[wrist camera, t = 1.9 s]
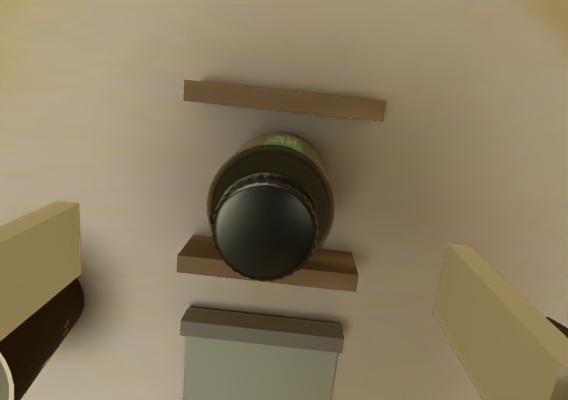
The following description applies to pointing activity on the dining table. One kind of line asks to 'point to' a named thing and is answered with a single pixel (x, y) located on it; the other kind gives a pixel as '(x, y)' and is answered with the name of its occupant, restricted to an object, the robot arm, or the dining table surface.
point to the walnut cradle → (324, 263)
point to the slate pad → (258, 356)
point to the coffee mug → (37, 341)
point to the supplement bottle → (270, 207)
